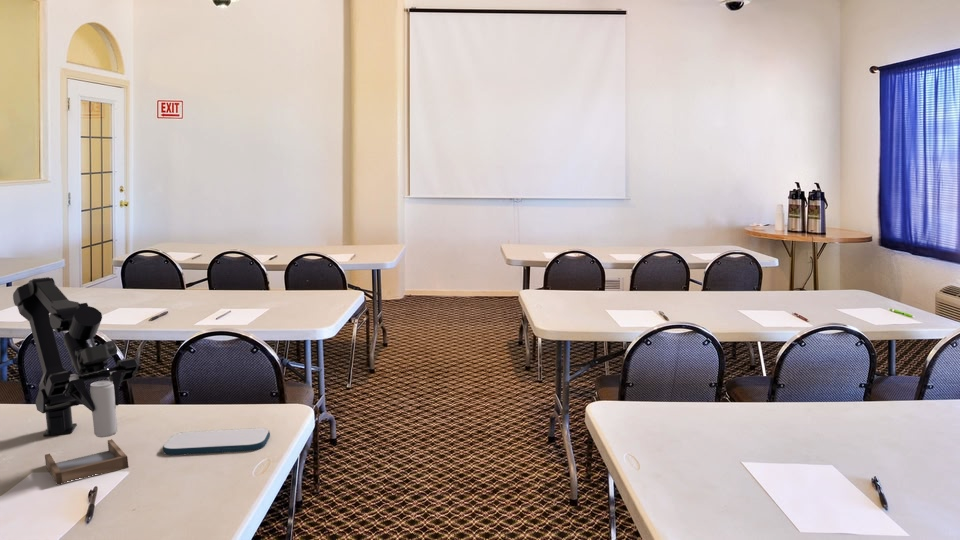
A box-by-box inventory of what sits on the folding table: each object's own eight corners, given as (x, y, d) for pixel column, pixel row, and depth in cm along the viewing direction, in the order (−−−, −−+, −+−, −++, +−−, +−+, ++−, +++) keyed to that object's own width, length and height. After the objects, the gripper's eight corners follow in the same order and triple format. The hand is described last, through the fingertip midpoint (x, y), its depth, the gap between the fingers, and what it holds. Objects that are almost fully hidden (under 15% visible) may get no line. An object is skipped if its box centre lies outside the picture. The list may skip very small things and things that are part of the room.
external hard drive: (272, 434, 182) (271, 427, 182) (263, 452, 171) (262, 444, 171) (175, 439, 180) (174, 432, 180) (159, 457, 169) (158, 449, 169)
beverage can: (103, 439, 162) (99, 387, 160) (89, 436, 164) (84, 384, 162) (122, 432, 166) (118, 381, 164) (108, 429, 168) (104, 379, 167)
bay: (45, 465, 165) (44, 454, 164) (113, 449, 173) (112, 439, 173) (57, 485, 154) (56, 473, 154) (128, 467, 163) (127, 456, 162)
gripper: (44, 338, 157) (67, 398, 152) (132, 324, 171) (156, 378, 165) (36, 367, 164) (57, 425, 158) (121, 351, 178) (144, 404, 172)
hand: (105, 407), depth 163 cm, fingers closed on beverage can, 5 cm apart
